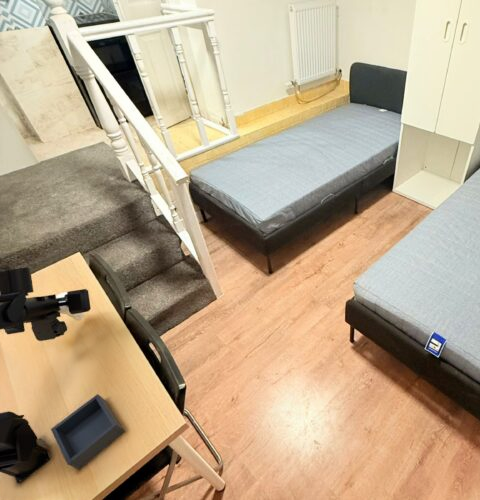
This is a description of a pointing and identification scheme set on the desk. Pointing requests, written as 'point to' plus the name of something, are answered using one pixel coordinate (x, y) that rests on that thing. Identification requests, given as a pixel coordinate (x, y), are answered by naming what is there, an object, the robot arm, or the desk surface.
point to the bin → (87, 432)
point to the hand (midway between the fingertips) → (70, 301)
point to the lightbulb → (66, 310)
